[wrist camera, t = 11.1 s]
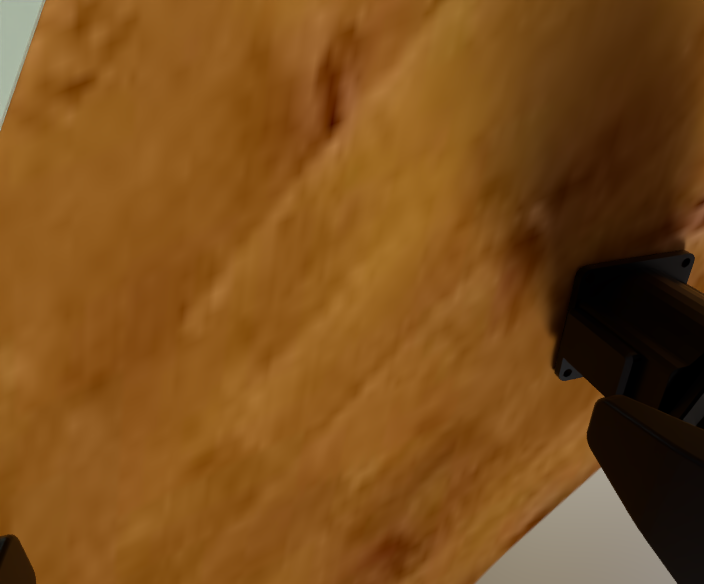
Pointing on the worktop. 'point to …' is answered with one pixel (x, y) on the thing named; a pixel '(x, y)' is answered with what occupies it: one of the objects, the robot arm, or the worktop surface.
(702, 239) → the worktop surface
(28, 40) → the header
